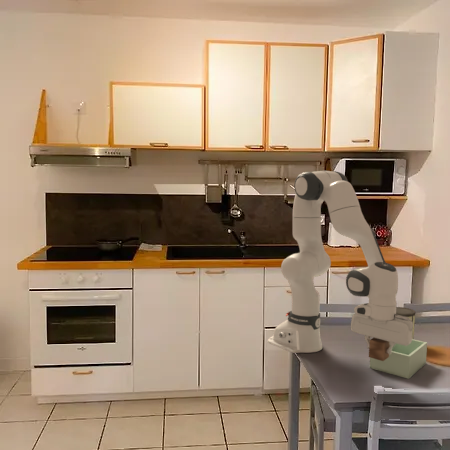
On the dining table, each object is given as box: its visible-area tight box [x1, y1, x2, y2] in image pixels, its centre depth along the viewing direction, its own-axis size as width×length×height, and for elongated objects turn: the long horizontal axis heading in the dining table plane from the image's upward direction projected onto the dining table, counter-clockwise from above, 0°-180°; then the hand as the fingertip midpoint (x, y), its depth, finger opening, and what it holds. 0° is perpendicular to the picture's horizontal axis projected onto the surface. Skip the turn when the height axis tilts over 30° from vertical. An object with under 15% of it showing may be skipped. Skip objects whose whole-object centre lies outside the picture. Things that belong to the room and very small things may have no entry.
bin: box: [369, 339, 428, 380], centre depth 174 cm, size 14×18×8 cm
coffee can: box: [396, 306, 416, 340], centre depth 197 cm, size 10×10×14 cm
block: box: [368, 337, 390, 361], centre depth 161 cm, size 5×5×6 cm
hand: (379, 350), depth 161 cm, fingers closed on block, 5 cm apart
